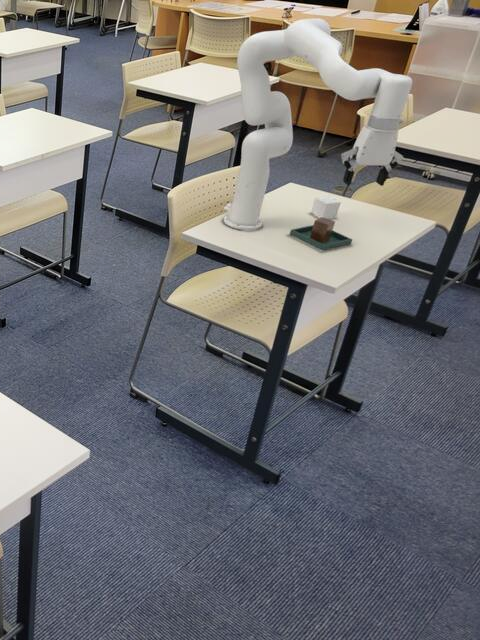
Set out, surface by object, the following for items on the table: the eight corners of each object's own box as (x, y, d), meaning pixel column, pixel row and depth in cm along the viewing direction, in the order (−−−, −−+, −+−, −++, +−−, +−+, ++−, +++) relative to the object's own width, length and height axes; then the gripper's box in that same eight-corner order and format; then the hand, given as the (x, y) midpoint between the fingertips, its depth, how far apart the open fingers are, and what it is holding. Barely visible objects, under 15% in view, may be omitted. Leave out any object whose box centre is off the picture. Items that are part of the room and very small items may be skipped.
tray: (288, 235, 231) (290, 229, 229) (316, 229, 235) (318, 223, 234) (321, 252, 220) (323, 245, 219) (350, 245, 225) (352, 239, 224)
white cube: (310, 213, 248) (314, 197, 244) (324, 212, 249) (328, 196, 246) (321, 220, 243) (326, 203, 240) (335, 218, 245) (340, 202, 241)
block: (309, 238, 227) (314, 220, 224) (316, 235, 230) (321, 217, 226) (322, 243, 225) (328, 224, 221) (329, 239, 227) (335, 221, 224)
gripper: (406, 120, 194) (385, 179, 203) (346, 118, 193) (328, 178, 203) (421, 127, 188) (398, 189, 197) (358, 126, 187) (339, 187, 196)
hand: (363, 183), depth 200 cm, fingers open, 9 cm apart
